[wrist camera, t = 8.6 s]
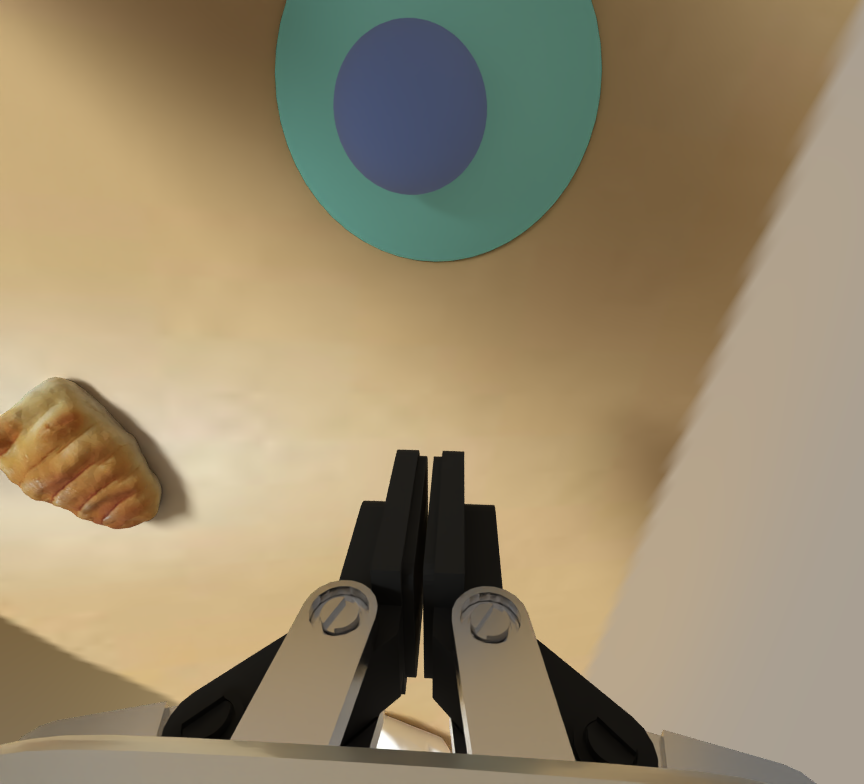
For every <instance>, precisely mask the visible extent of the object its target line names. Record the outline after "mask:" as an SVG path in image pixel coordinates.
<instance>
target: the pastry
mask: <svg viewBox="0 0 864 784" xmlns="http://www.w3.org/2000/svg"><path fill="white" fill-rule="evenodd" d="M0 469H1V470H2V471H3V472H4V473H5V474H6V475H7V477H8V478H9V479H10V480H11V482H13V483H15V484H17V485H18V486H19V487H20V488H21V489H22V491H23V492H24V493H25V494H26V495H28V496H29V497H30V498H32V499H34V500H37V501H45V502H48V503H51V504H53V505H55V506H58V507H61V508H63V509H67V510H69V511H71V512H72V513H74V514H75V515H76V516H77V517H79V518H81V519H85V520H89V521H93V522H94V523H96V524H100V525H104V526H108V527H110V528H113V529H123V528H130V527H133V526H136V525H138V524H140V523H142V522H144V521H149V520H151V519H152V518H153V517H154V516H155V515H156V514H157V512H158V508H159V504H160V499H161V492H162V489H161V485H160V483H159V480H158V478H157V476H156V475H155V474H154V473H153V472H152V471H151V470H150V468H149V467H148V465H147V462H146V459H145V457H144V456H143V454H142V453H141V451H140V447H139V444H138V442H137V440H136V439H135V437H134V436H133V435H131V434H129V433H127V432H126V431H125V430H124V429H123V427H122V426H121V425H120V424H119V423H118V422H117V421H116V420H115V419H114V418H113V417H112V416H111V415H110V414H109V413H108V412H107V410H106V409H105V408H104V407H103V406H102V405H101V404H100V403H99V402H98V401H97V400H96V399H95V398H93V397H92V396H91V395H90V394H89V393H88V392H87V391H85V390H84V389H83V388H81V387H80V386H78V385H77V384H76V383H74V382H72V381H70V380H67V379H63V378H57V377H54V378H49V379H47V380H45V381H44V382H42V383H41V384H40V385H38V386H36V387H35V388H33V389H32V390H31V391H29V392H28V393H27V394H26V395H25V396H24V397H23V398H22V399H21V401H19V402H18V403H17V404H15V405H14V406H13V407H12V408H11V409H10V410H8V411H7V412H5V413H4V414H2V415H1V416H0Z"/></svg>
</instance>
